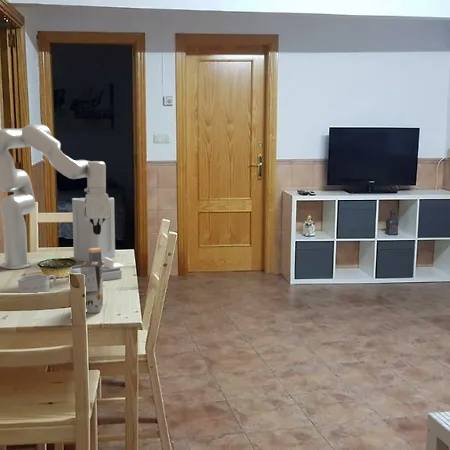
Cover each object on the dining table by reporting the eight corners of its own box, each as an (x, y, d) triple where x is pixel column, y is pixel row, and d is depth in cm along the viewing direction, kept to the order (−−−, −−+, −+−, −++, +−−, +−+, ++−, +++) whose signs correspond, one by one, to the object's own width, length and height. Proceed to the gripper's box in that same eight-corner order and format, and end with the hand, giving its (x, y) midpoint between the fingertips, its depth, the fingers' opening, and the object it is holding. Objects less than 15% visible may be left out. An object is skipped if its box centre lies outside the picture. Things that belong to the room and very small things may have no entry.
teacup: (21, 303, 221) (20, 281, 220) (15, 296, 231) (15, 274, 229) (61, 299, 228) (60, 277, 226) (54, 292, 237) (53, 271, 236)
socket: (69, 275, 263) (69, 265, 263) (105, 270, 272) (105, 261, 272) (84, 283, 250) (84, 273, 250) (121, 278, 259) (121, 268, 259)
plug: (89, 269, 274) (88, 248, 273) (98, 268, 277) (97, 247, 275) (92, 271, 271) (92, 250, 270) (101, 269, 273) (101, 249, 272)
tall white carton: (73, 263, 286) (71, 202, 281) (74, 256, 300) (72, 198, 295) (116, 261, 290) (115, 201, 285) (114, 255, 304) (113, 197, 299)
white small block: (103, 265, 267) (103, 257, 266) (117, 264, 270) (117, 255, 270) (110, 268, 261) (110, 260, 260) (124, 267, 264) (124, 258, 264)
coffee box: (100, 313, 212) (99, 266, 209) (81, 313, 211) (79, 266, 208) (103, 305, 221) (102, 260, 218) (84, 305, 220) (83, 260, 217)
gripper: (82, 192, 256) (83, 236, 259) (116, 191, 264) (117, 234, 267) (76, 190, 263) (76, 233, 266) (110, 189, 271) (110, 231, 274)
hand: (97, 234), depth 266 cm, fingers closed
